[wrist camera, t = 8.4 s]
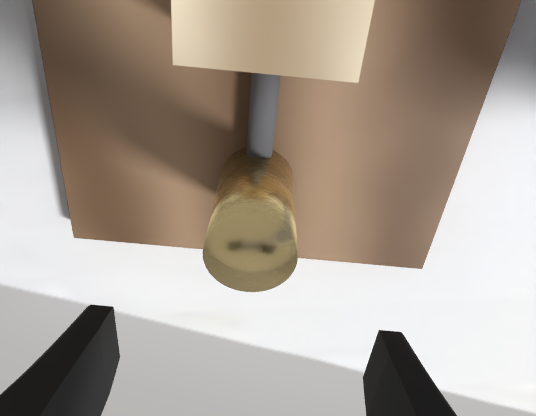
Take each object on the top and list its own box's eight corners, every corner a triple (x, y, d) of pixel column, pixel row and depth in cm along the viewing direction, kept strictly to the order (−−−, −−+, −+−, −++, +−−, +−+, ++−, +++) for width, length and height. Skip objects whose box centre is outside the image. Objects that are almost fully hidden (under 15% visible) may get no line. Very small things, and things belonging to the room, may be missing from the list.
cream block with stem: (372, -134, 13) (418, -162, 8) (312, 215, 19) (321, 297, 15) (196, -153, 13) (155, -191, 8) (195, 205, 19) (172, 285, 15)
